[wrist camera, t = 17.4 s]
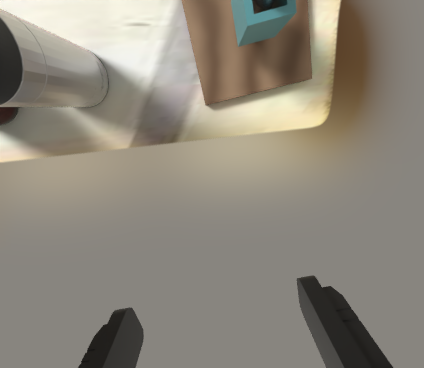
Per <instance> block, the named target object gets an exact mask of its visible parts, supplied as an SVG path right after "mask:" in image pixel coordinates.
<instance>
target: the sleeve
mask: <svg viewBox="0 0 424 368" xmlns="http://www.w3.org/2000/svg"><path fill="white" fill-rule="evenodd" d="M231 6H232V12H233V19H234V25H235V31H236V37H237V43H238V47H239V46H243V45H247V44H251V43H254V42H258V41H262V40H265V39H269V38H273V37H275V36H276V35H277V34H278V33H279V32H280V30H281V29H282V28H283V27H284V26H285V25H286V24H287V23H288V21H289V20H290V19H291V18H292V17H293V16H294V15H295V14H296V13H297V11H296V0H275V2H274V4H273V5H272V7H271V9H270V10H267V11H264V12H260V13H257V14H254V11H253V3H252V0H231Z"/></svg>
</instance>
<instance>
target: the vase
mask: <svg viewBox="0 0 424 368" xmlns="http://www.w3.org/2000/svg"><path fill="white" fill-rule="evenodd" d="M18 108H19V107H0V125H4V124H6V123H9V122H10V121H12V120H13V119H14V118H15V116H16V114H17V112H18Z"/></svg>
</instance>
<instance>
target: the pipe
mask: <svg viewBox="0 0 424 368" xmlns="http://www.w3.org/2000/svg"><path fill="white" fill-rule="evenodd" d="M274 2H275V0H252V3H253V11H254V14H257V13H260V12H264V11H267V10H270V9H271V7H272V5H273V4H274Z"/></svg>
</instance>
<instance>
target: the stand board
mask: <svg viewBox="0 0 424 368" xmlns="http://www.w3.org/2000/svg"><path fill="white" fill-rule="evenodd" d="M182 3H183V8H184V12H185V16H186V21H187V25H188V30H189V34H190V38H191V43H192V47H193V52H194V56H195V60H196V65H197V69H198V73H199V78H200V82H201V87H202V91H203V95H204V100H205V104H206V105H209V104H213V103H216V102H220V101H224V100H228V99H232V98H236V97H240V96H244V95H248V94H252V93H256V92H260V91H264V90H268V89H272V88H276V87H280V86H284V85H288V84H292V83H296V82H300V81H304V80H308V79H312V69H311V52H310V35H309V19H308V2H307V0H296V11H297V13H296V14H295V15H294V16H293V17H292V18H291V19H290V20H289V21H288V23H287V24H286V25H285V26H284V27H283V28H282V29H281V30H280V32H279V33H278V34H277V35H276V36H275V37H273V38H269V39H265V40H262V41H258V42H254V43H251V44H247V45H243V46H239V47H238V43H237V37H236V31H235V25H234V19H233V12H232V6H231V0H182Z"/></svg>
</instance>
